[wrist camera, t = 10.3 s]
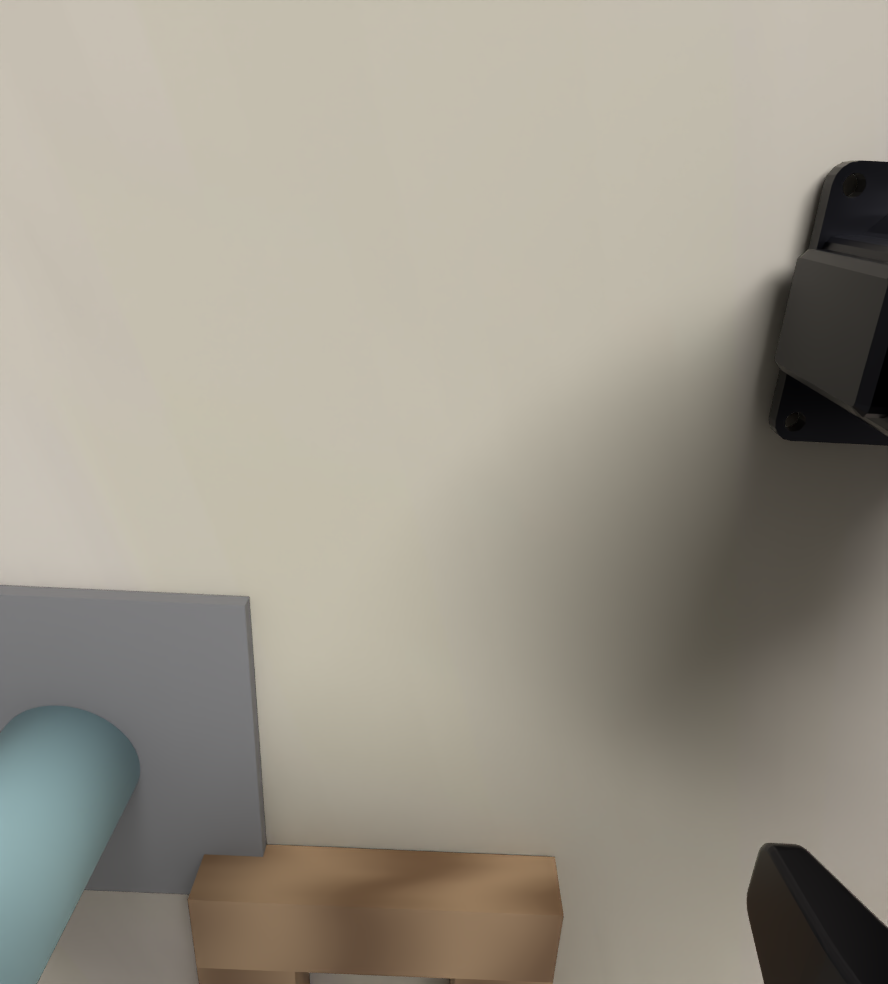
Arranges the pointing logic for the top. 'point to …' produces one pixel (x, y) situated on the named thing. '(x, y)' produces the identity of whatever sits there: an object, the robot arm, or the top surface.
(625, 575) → the top surface
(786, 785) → the top surface
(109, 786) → the peg
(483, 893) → the pocket block
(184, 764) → the mat
